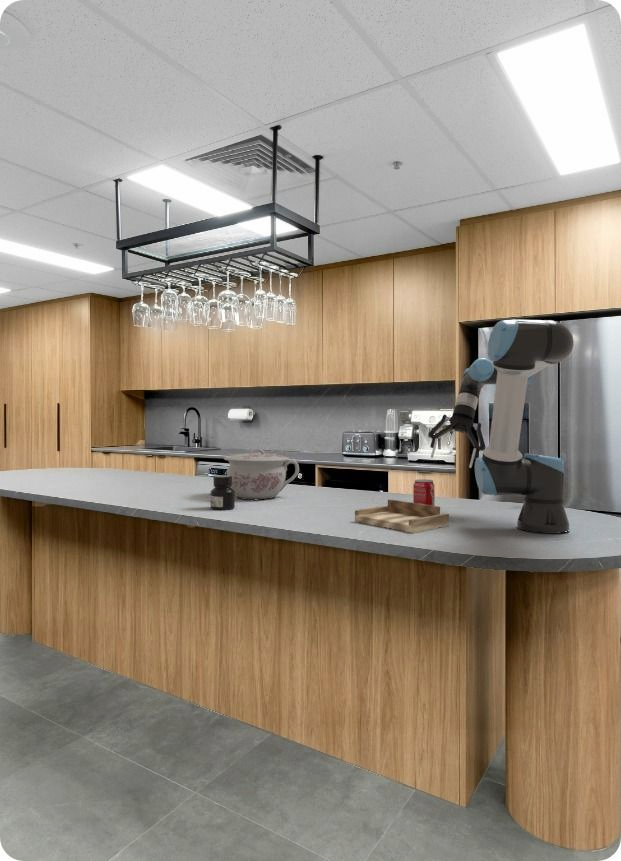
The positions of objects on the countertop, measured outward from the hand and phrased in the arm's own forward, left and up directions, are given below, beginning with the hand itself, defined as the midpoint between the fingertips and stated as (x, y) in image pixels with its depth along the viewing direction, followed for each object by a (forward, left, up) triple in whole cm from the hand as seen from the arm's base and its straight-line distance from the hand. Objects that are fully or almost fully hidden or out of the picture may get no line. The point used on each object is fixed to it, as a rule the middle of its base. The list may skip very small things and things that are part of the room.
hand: (451, 461), depth 209 cm
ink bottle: (+62, +54, -19) cm, 85 cm away
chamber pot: (+77, +27, -19) cm, 84 cm away
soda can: (+2, +12, -19) cm, 23 cm away
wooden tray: (0, +26, -19) cm, 33 cm away
